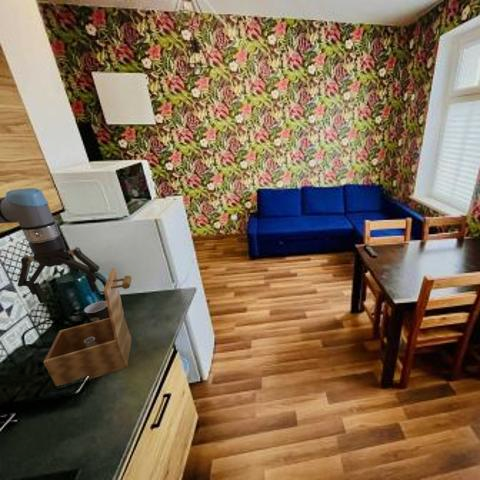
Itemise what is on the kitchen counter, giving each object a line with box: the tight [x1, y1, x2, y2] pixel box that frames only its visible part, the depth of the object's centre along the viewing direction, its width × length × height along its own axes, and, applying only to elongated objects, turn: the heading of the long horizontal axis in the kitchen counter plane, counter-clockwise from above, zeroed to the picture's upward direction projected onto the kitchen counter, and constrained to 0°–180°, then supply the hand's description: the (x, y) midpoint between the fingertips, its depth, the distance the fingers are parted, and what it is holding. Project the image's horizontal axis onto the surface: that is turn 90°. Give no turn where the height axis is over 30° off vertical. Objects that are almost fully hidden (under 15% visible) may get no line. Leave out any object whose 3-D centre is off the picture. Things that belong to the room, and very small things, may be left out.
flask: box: [84, 337, 98, 348], centre depth 101 cm, size 7×7×10 cm
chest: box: [42, 315, 132, 387], centre depth 101 cm, size 20×17×13 cm
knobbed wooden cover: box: [103, 267, 132, 340], centre depth 100 cm, size 21×17×6 cm
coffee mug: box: [83, 300, 110, 323], centre depth 121 cm, size 12×9×10 cm
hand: (69, 295), depth 91 cm, fingers open, 13 cm apart
